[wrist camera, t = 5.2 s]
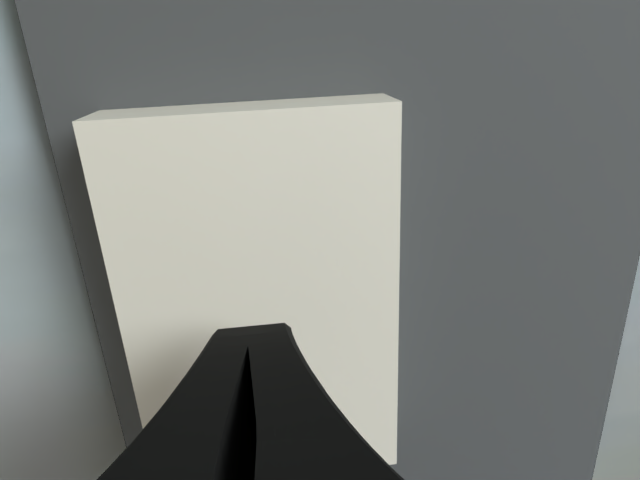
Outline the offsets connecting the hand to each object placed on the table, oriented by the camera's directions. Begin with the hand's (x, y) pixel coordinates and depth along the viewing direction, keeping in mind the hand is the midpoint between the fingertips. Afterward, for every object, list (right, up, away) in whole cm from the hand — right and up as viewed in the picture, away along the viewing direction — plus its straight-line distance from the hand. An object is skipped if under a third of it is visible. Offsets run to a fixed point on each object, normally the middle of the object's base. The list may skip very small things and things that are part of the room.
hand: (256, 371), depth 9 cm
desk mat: (+3, +2, +4) cm, 5 cm away
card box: (+3, +1, +3) cm, 4 cm away
